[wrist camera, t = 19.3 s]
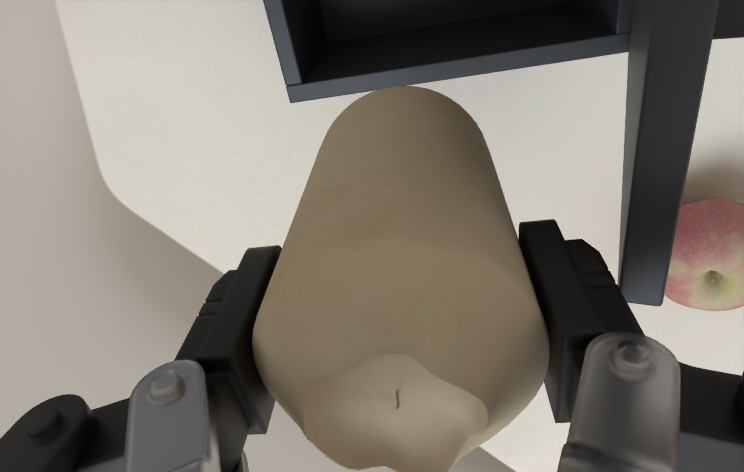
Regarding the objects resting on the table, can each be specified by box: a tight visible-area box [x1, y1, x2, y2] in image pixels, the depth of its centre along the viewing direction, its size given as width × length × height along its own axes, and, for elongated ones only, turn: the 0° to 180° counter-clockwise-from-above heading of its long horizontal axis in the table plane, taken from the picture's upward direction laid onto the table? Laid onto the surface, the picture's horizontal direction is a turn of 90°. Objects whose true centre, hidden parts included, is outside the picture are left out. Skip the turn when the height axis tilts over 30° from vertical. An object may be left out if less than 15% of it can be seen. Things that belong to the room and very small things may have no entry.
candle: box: [252, 86, 550, 472], centre depth 12 cm, size 6×6×10 cm
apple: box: [664, 198, 744, 311], centre depth 36 cm, size 8×8×8 cm
